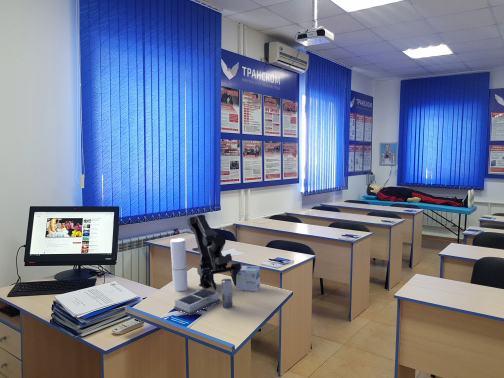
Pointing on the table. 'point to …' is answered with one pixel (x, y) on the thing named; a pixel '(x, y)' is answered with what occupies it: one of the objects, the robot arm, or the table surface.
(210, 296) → the gray divided tray
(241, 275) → the light bulb box
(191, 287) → the table surface
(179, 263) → the cylindrical container
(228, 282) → the shiny gray cylinder
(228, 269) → the robot arm
